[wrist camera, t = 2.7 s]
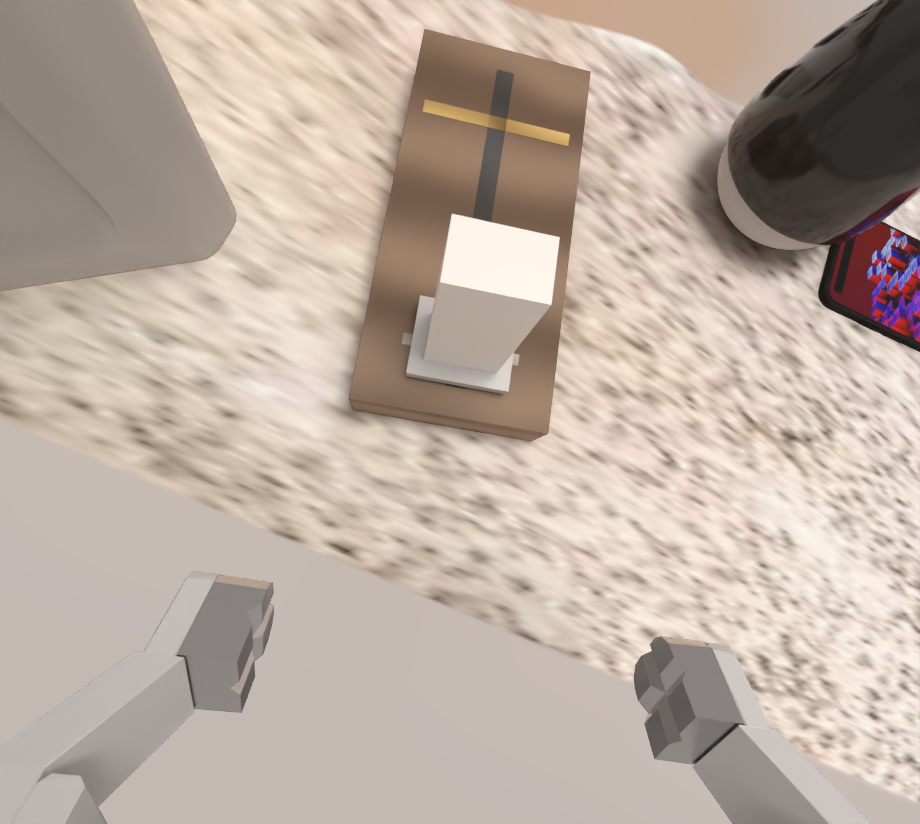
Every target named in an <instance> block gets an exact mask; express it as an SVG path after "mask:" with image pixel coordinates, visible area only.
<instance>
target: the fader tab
mask: <svg viewBox="0 0 920 824" xmlns="http://www.w3.org/2000/svg"><path fill="white" fill-rule="evenodd" d="M559 240H560V237H556V236H552V235H547V234H542V233H538V232H533V231H529V230H524V229H520V228H515V227H511V226H506V225H501V224H497V223H492V222H488V221H483V220H479V219H474V218H470V217H465V216H461V215H456V214H452V216H451V221H450V225H449V230H448V235H447V240H446V245H445V250H444V255H443V260H442V265H441V270H440V275H439V280H438V285H437V289H436V294H435V298H432V297H427V296H422V295H420V299H419V305H418V310H417V316H416V321H415V327H414V332H413V338H412V343H411V349H410V354H409V360H408V365H407V371H406V376H408V377H413V378H419V379H424V380H430V381H435V382H440V383H446V384H451V385H457V386H462V387H468V388H473V389H479V390H484V391H490V392H495V393H500V394H507V393H508V392H509V384H510V377H511V370H512V362H513V355H514V351H515V350H516V349H517V347H518V346H519V345H520V344H521V342H522V341H523V340H524V339H525V337H526V336H527V335H528V334H529V332H530V331H531V330H532V329H533V327H534V326H535V325H536V324H537V322H538V321H539V320H540V319H541V317H542V316H543V315H544V314H545V312H546V311H547V310H548V309H549V307H550V306H551V305H552V297H553V288H554V280H555V272H556V264H557V256H558V248H559Z"/></svg>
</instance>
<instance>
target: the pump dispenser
mask: <svg viewBox="0 0 920 824" xmlns="http://www.w3.org/2000/svg"><path fill="white" fill-rule="evenodd" d="M717 186H718V194H719V198H720V201H721V204H722V207H723V209H724V211H725V213H726V215H727V216H728V218H729V219H730V221H731V222H732V223H733V224H734V226H735V227H736V228H737V229H738V230H739V231H741V232H742V233H743V234H744V235H746V236H747V237H748V238H750V239H752V240H753V241H755V242H757V243H760V244H762V245H765V246H768V247H772V248H777V249H785V250H800V249H808V248H814V247H818V246H822V245H833V244H839V243H842V242H846V241H848V240H851V239H853V238H855V237H857V236H859V235H860V234H862V233H864V232H866V231H867V230H869V229H871V228H872V227H874V226H875V225H877V224H878V223H880V222H881V221H883V220H884V219H885V218H887V217H888V216H890V215H891V214H892V213H894V212H895V211H896V210H898V209H899V208H900V207H901V206H903V205H904V204H905V203H907V202H908V201H909V200H911V199H912V198H913V197H914V196H916V195H917V194H918V193H919V192H920V0H877V1H875V2H874V3H872V4H871V5H869V6H868V7H866V8H865V9H863V10H862V11H860V12H859V13H857V14H856V15H855V16H853V17H852V18H851V19H849V20H847V21H846V22H845V23H843V24H842V25H840V26H839V27H838V28H836V29H835V30H834V31H832V32H831V33H830V34H828V35H827V36H825V37H824V38H823V39H821V40H820V41H819V42H817V43H816V44H815V45H813V46H812V47H811V48H810V49H808V50H807V51H806V52H805V53H803V54H802V55H801V56H800V57H798V59H796V60H795V61H794V62H792V63H791V64H790V65H789V66H788V67H787V68H785V69H784V70H783V71H782V72H781V73H780V74H778V75H777V76H776V77H775V78H774V79H773V80H771V81H770V82H769V83H768V84H767V85H766V86H765V87H764V88H763V89H762V90H761V91H759V92H758V93H757V94H756V95H755V96H754V97H753V98H752V100H751V101H750V102H749V103H748V104H747V105H746V106H745V107H744V108H743V110H742V111H741V112H740V113H739V115H738V116H737V118H736V119H735V121H734V123H733V125H732V128H731V130H730V134H729V138H728V140H727V142H726V145H725V147H724V149H723V152H722V155H721V158H720V162H719V166H718V174H717Z"/></svg>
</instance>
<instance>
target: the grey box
mask: <svg viewBox="0 0 920 824" xmlns="http://www.w3.org/2000/svg"><path fill="white" fill-rule="evenodd" d="M235 222H236V211H235V208H234V205H233V203H232V201H231V199H230V197H229V195H228V193H227V191H226V189H225V187H224V185H223V183H222V181H221V179H220V176H219V174H218V172H217V170H216V168H215V166H214V164H213V162H212V160H211V158H210V156H209V154H208V152H207V150H206V148H205V145H204V143H203V141H202V139H201V137H200V135H199V133H198V131H197V129H196V127H195V125H194V123H193V121H192V119H191V116H190V114H189V112H188V110H187V108H186V106H185V104H184V102H183V100H182V98H181V96H180V94H179V92H178V90H177V88H176V85H175V83H174V81H173V79H172V77H171V75H170V73H169V71H168V69H167V67H166V65H165V63H164V61H163V59H162V57H161V54H160V52H159V50H158V48H157V46H156V44H155V42H154V40H153V38H152V36H151V34H150V32H149V30H148V28H147V26H146V25H145V23H144V21H143V19H142V17H141V15H140V13H139V11H138V9H137V7H136V5H135V3H134V1H133V0H0V291H2V290H8V289H15V288H22V287H28V286H35V285H41V284H48V283H55V282H61V281H68V280H75V279H81V278H88V277H94V276H101V275H108V274H114V273H121V272H127V271H134V270H141V269H147V268H154V267H160V266H167V265H174V264H180V263H187V262H194V261H200V260H203V259H207V258H209V257H211V256H212V255H214V254H215V253H216V252H217V251H218V250H219V249H220V247H221V246H222V244H223V243H224V241H225V239H226V238H227V236H228V235H229V233H230V232H231V230H232V228H233V227H234V224H235Z"/></svg>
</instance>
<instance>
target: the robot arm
mask: <svg viewBox="0 0 920 824" xmlns="http://www.w3.org/2000/svg"><path fill="white" fill-rule="evenodd" d="M273 593H274V592H273V583H271V582H265V581H258V580H252V579H244V578H238V577H231V576H224V575H220V574H213V573H206V572H198V571H193V572H192V573H191V574H190V575H189V576H188V577H187V578H186V579H185V581H184V583H183V584H182V586H181V588H180V589H179V591H178V593H177V595H176V596H175V598H174V600H173V602H172V604H171V605H170V607H169V609H168V610H167V612H166V614H165V615H164V618H163V619H162V621H161V622H160V624H159V626H158V627H157V629H156V631H155V633H154V634H153V636H152V638H151V640H150V641H149V643H148V645H147V646H146V648H145V650H144V652H141V651H134V652H133V653H131V654H130V655H129V656H127V657H126V658H124V659H123V660H122V661H120V662H119V663H117V664H116V665H114V666H113V667H112V668H110V669H109V670H108V671H106V672H105V673H104V674H102V675H101V676H99V677H98V678H96V679H95V680H93V681H92V682H91V683H89V684H88V685H86V686H85V687H84V688H82V689H81V690H79V691H78V692H77V693H75V694H74V695H72V696H71V697H69V698H68V699H67V700H65V701H64V702H62V703H61V704H59V705H58V706H57V707H55V708H54V709H52V710H51V711H50V712H48V713H47V714H45V715H44V716H43V717H41V718H40V719H38V720H37V721H35V722H34V723H33V724H31V725H30V726H28V727H27V728H26V729H24V730H23V731H21V732H20V733H19V734H17V735H16V736H14V737H13V738H12V739H10V740H9V741H7V742H6V743H5V744H3V745H2V746H0V824H107V822H106V820H105V819H104V817H103V815H102V813H101V812H100V810H99V808H98V807H99V806H100V804H102V803H103V802H104V801H105V800H106V799H107V798H108V797H109V796H110V795H111V794H112V793H113V792H114V791H115V790H116V789H117V788H118V787H119V786H120V785H121V784H122V783H123V782H124V781H125V780H126V779H127V778H128V777H129V776H130V775H131V774H132V773H133V772H134V771H135V770H136V769H137V768H138V767H139V766H140V765H141V764H142V763H143V762H144V761H145V760H146V759H147V758H148V757H149V756H150V755H151V754H152V753H153V752H154V751H155V750H156V749H158V748H159V746H161V745H162V744H163V743H164V741H166V740H167V739H168V738H169V737H170V736H171V735H172V734H173V733H174V732H175V731H176V730H177V729H178V727H180V726H181V725H182V724H183V723H184V722H185V721H186V720H187V719H188V718H189V717H190V716H191V715H192V714H193V713H194V709H203V710H215V711H227V712H239V713H241V712H242V710H243V707H244V705H245V702H246V699H247V697H248V694H249V691H250V689H251V686H252V683H253V680H254V678H255V670H254V661H255V660H257V659H258V658H259V657H260V656H261V655H263V653H264V650H265V647H266V644H267V641H268V638H269V634H270V630H271V627H272V621H273V614H274V606H273V605H272V604H271V603H270V601H271V598H272V596H273ZM650 646H651V649H652V651H651V652H649V653H647V654H644V655H642V656H641V657H640V659H639V660H638V662H637V663H636V666H635V673H634V684H635V690H636V694H637V698H638V701H639V702H640V704H641V705H642V706H643V707H644V708H645V710H646V711H647V712H648V715H647V718H646V721H645V727H646V731H647V734H648V738H649V741H650V745H651V748H652V752H653V755H654V759H658V760H665V761H672V762H679V763H686V764H693V765H694V766H693V768H694V769H695V771H696V772H697V774H698V775H699V777H700V778H701V780H702V781H703V782H704V784H705V785H706V787H707V788H708V789H709V791H710V792H711V794H712V795H713V796H714V798H715V799H716V801H717V802H718V804H719V805H720V806H721V808H722V809H723V811H724V812H725V814H726V815H727V817H728V818H729V819H730V821H731V822H732V824H869V823H868V822H867V821H866V820H865V819H864V817H863V816H862V815H861V814H860V813H859V812H857V811H856V809H855V808H854V807H853V806H852V805H851V804H850V803H849V802H848V801H847V800H846V799H845V798H844V797H843V796H842V795H841V794H840V793H839V792H838V791H837V790H836V789H835V788H834V787H833V786H832V785H831V784H830V783H829V782H828V781H827V780H826V779H825V778H824V777H823V776H822V775H821V774H820V773H819V772H818V771H817V770H816V769H815V768H814V767H813V766H812V765H811V764H810V763H809V762H808V760H807V759H806V758H805V757H804V756H803V755H802V754H801V753H800V752H799V751H798V750H797V749H796V748H795V747H794V746H793V745H792V744H791V743H790V742H789V741H788V740H787V739H786V738H785V737H784V736H783V735H782V734H781V733H780V732H779V731H778V730H777V729H772V728H770V727H769V725H768V723H767V721H766V718H765V716H764V714H763V712H762V710H761V708H760V706H759V704H758V702H757V700H756V697H755V695H754V693H753V691H752V689H751V687H750V685H749V683H748V681H747V679H746V676H745V674H744V672H743V670H742V668H741V666H740V664H739V662H738V660H737V658H736V655H735V654H734V652H733V651H732V650H731V649H730V647H729V646H726V645H723V644H716V643H708V642H702V641H697V640H689V639H680V638H672V637H663V636H660V637H657V638H655V639H654V640H653V641H652V643H651V644H650Z"/></svg>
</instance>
